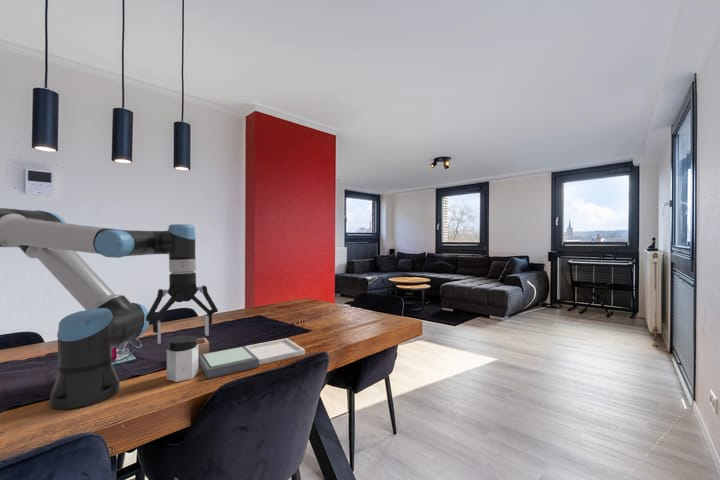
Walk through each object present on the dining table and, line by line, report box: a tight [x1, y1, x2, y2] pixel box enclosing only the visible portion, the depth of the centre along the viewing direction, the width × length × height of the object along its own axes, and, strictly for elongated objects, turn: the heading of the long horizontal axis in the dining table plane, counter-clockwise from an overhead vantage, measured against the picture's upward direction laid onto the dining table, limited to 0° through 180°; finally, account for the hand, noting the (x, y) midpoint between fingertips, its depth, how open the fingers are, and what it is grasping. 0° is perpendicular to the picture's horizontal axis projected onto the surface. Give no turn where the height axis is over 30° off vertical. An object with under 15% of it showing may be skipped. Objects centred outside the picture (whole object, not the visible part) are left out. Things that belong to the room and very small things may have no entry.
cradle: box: [198, 345, 259, 380], centre depth 115 cm, size 16×16×3 cm
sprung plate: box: [203, 346, 253, 368], centre depth 115 cm, size 13×13×1 cm
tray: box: [244, 337, 306, 366], centre depth 128 cm, size 18×18×2 cm
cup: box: [197, 337, 210, 355], centre depth 122 cm, size 8×8×6 cm
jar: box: [166, 335, 199, 383], centre depth 106 cm, size 9×8×12 cm
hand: (183, 338), depth 106 cm, fingers open, 13 cm apart
